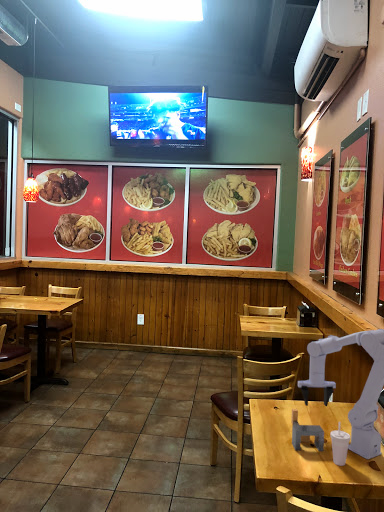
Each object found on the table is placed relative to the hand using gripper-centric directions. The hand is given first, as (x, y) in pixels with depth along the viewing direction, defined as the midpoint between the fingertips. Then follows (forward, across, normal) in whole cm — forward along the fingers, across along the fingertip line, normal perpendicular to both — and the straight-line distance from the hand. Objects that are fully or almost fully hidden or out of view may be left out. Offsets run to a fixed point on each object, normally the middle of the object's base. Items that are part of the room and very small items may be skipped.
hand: (315, 405), depth 162 cm
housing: (+9, +7, +15) cm, 19 cm away
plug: (+9, +7, +4) cm, 12 cm away
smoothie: (+10, -1, +25) cm, 27 cm away
